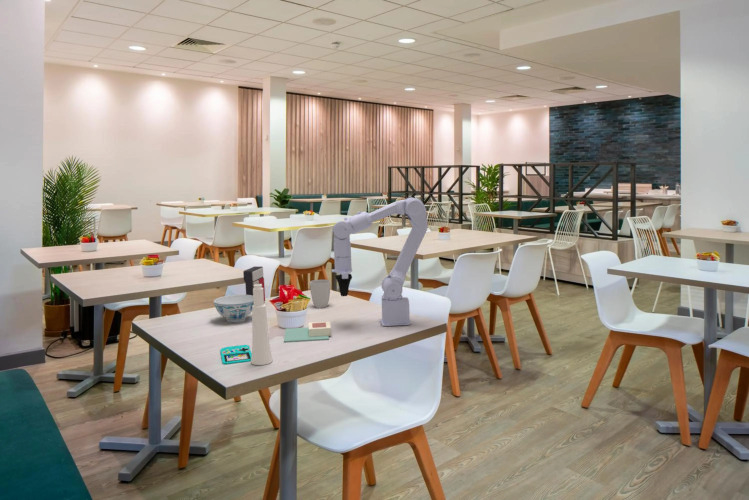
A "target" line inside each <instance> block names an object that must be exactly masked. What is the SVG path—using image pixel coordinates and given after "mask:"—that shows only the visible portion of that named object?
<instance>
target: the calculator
mask: <svg viewBox="0 0 749 500" xmlns="http://www.w3.org/2000/svg"><path fill="white" fill-rule="evenodd" d="M243 281H244V283H245V295H252V296H253V288H254V285H255V284H262V288H263V295H264V303H265V301H266V293H265V292H266V290H265V278H264V267H263V266H252V267H250V268H248V269H245V270H243Z"/></svg>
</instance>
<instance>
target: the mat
mask: <svg viewBox="0 0 749 500" xmlns="http://www.w3.org/2000/svg"><path fill="white" fill-rule="evenodd" d="M328 340H330V337H329V336H315V337H309V326H308V327H296V328H295V327H294V328H293V327H292V328H291V327H290V328H285V332H284V337H283V343H293V342H295V343H299V342H310V341H311V342H312V341H328Z"/></svg>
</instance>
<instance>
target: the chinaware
mask: <svg viewBox="0 0 749 500" xmlns="http://www.w3.org/2000/svg"><path fill="white" fill-rule="evenodd" d="M213 305H214V306H215V310H216V312H217V313H218V314H219V315H220V316H221V317H223V318H224V319H226V322H228V323H239V322H244V321H246V319H247V317H249V315H250V314H251V313H252V306H253V305H254V300H253V296H252V295H246V294H233V295H232V294H231V295H225V296H220V297H217V298H215V299H213Z"/></svg>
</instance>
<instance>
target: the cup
mask: <svg viewBox="0 0 749 500" xmlns="http://www.w3.org/2000/svg"><path fill="white" fill-rule="evenodd" d="M309 289H310V295H311V296H310V297H311V301H312V303H313V306H314V308H316V309H322V308H326V307H328V305H329V301H330V294H331V280H330V279H329V280H328V279H315V280H314V279H313V280H310V281H309Z"/></svg>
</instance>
